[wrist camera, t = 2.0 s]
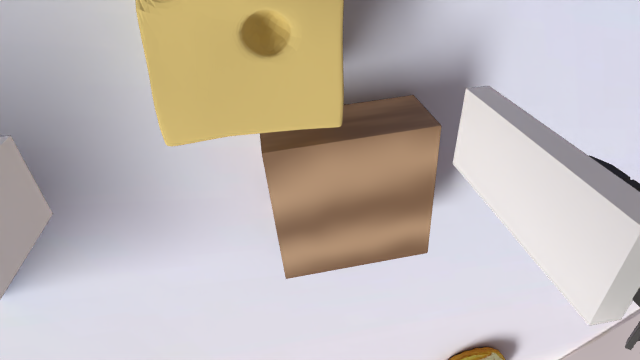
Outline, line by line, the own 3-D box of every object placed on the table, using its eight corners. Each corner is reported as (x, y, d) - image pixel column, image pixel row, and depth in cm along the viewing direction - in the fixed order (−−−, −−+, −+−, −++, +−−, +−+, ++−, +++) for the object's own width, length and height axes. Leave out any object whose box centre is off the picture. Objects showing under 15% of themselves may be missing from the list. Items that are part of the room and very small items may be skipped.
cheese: (147, -83, 24) (99, -75, 16) (324, -84, 25) (364, -77, 17) (181, 84, 30) (160, 152, 22) (323, 76, 31) (353, 136, 23)
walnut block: (258, 116, 32) (261, 153, 28) (412, 93, 34) (441, 125, 29) (280, 233, 40) (285, 278, 35) (405, 211, 41) (427, 252, 36)
